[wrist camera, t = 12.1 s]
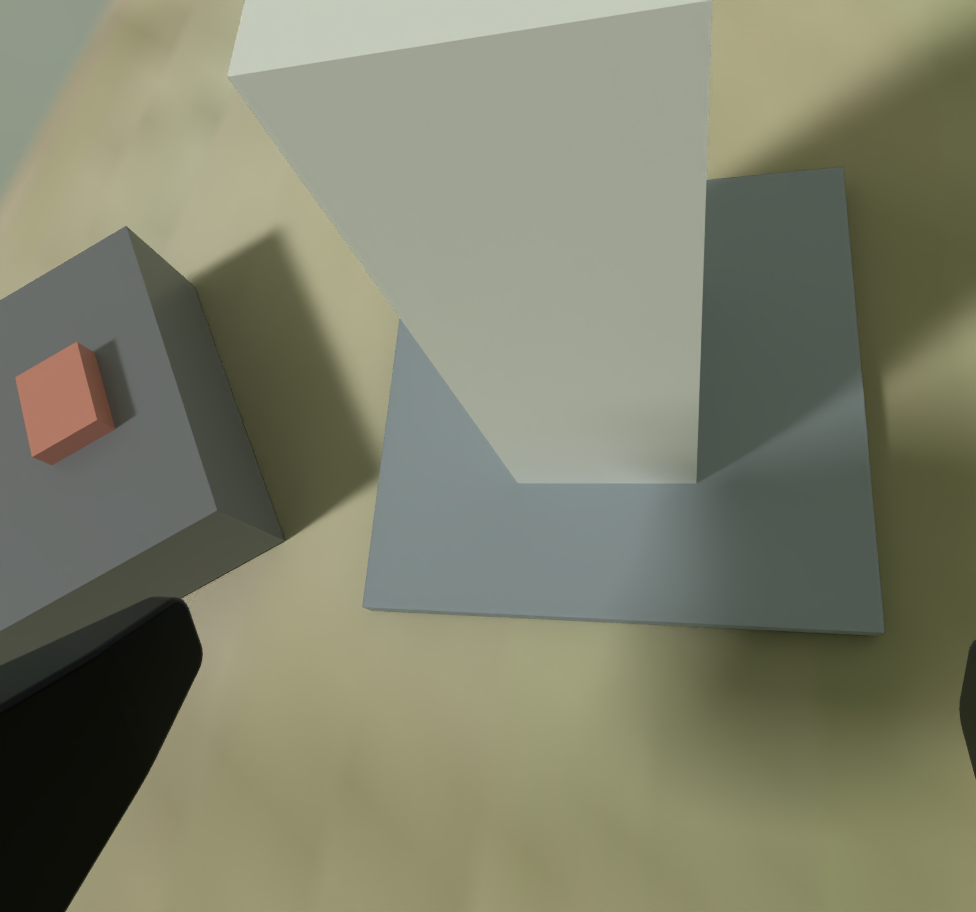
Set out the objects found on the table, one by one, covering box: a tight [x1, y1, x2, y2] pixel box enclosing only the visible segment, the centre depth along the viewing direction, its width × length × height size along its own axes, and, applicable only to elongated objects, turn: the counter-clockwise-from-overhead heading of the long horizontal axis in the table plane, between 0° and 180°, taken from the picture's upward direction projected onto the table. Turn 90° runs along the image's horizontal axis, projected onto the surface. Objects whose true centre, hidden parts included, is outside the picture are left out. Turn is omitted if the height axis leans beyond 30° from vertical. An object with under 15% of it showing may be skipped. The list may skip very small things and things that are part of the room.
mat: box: [362, 167, 885, 636], centre depth 18 cm, size 11×11×1 cm
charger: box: [227, 0, 712, 484], centre depth 12 cm, size 4×5×12 cm
